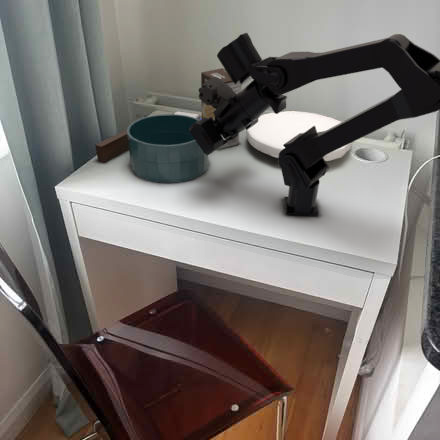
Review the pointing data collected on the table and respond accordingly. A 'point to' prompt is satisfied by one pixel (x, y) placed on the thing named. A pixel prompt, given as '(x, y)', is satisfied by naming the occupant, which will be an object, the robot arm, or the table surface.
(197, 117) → the smartphone
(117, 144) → the back rail
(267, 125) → the plate
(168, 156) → the bowl
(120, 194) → the table surface
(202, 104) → the coffee box
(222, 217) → the table surface
